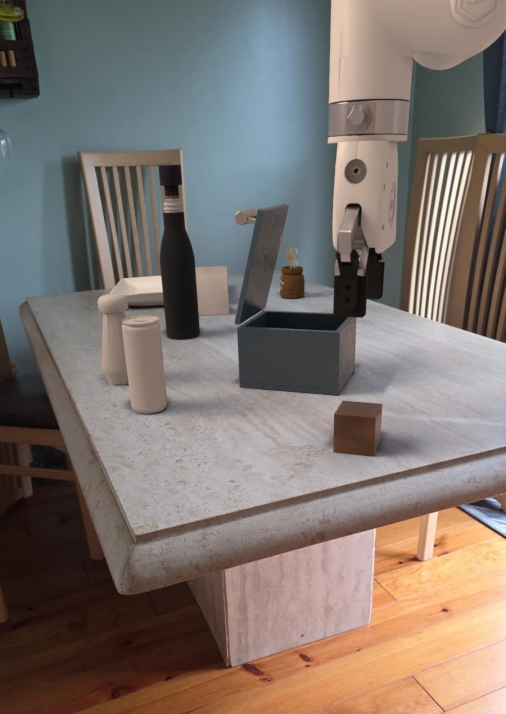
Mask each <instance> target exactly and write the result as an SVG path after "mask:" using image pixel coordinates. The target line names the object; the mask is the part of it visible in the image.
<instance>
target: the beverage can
mask: <svg viewBox="0 0 506 714" xmlns="http://www.w3.org/2000/svg"><path fill="white" fill-rule="evenodd" d="M122 323H123V325H122V332H123V341H124V349H125V357H126V365H127V374H128V382H129V383H128V390H129V399H130V405H131V408H132V409H133V411H135V412H137V413H138V414H144V415H147V414H148V415H149V414H156V413H160V412H162V411H164V410H165V409H166V407H167V405H168V395H167V394H168V393H167V383H166V374H165V362H164V353H163V352H164V351H163V341H162V331H161V324H160V322H159V318H158V317H157V316H153V315H137V316H131V317H126V319H124V320H123V321H122Z"/></svg>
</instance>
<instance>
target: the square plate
mask: <svg viewBox="0 0 506 714" xmlns="http://www.w3.org/2000/svg"><path fill="white" fill-rule="evenodd" d="M109 294H122V295H124V296H125V297H126V298H127V300H128V306H133V307H153V306H155V307H156V306H164V301H163V290H162V279H161V275H150V276H149V275H148V276H137V277H124V278H121V279H120V280H119V281H118V282H117V284H116V285H115V286H114V287H113V288H112V290H111V291H110V292H109Z"/></svg>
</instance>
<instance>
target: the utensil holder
mask: <svg viewBox="0 0 506 714" xmlns="http://www.w3.org/2000/svg"><path fill="white" fill-rule="evenodd" d="M285 248H286V260H287V261H288V262H289V265H285V266H282V267H281V271H280V272H281V275H280V278H279V289H280V290H279V294H280V297H281V298H283V299H286V300H287V299H288V300H289V299H290V300H292V299H293V300H295V299H301V298H303V297H305V285H306V284H305V275H304V274H303V272H304V268H303V266H301V265H298V264H296V263H299V261H300V259H297V260H295V256H294V254H295V253H297V254H300V252H299V251H298V249H296V248H294V247H293V246H291V247H285ZM294 260H295V262H294ZM292 264H293V265H292Z"/></svg>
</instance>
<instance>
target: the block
mask: <svg viewBox="0 0 506 714" xmlns="http://www.w3.org/2000/svg"><path fill="white" fill-rule="evenodd" d="M382 415H383V403H377V402H366V401H365V402H364V401H354V400H342V401H341V403H340V404H339V406H338V407H337V409H336V410H335V412H334V414H333V440H332V441H333V447H332V450H333V451H332V452H333V453H341V454H349V455H358V456H368V457H374V456H375V454H376V452H377V450H378V447H379V444H380V442H381V434H382V420H383V419H382V417H383V416H382Z"/></svg>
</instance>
